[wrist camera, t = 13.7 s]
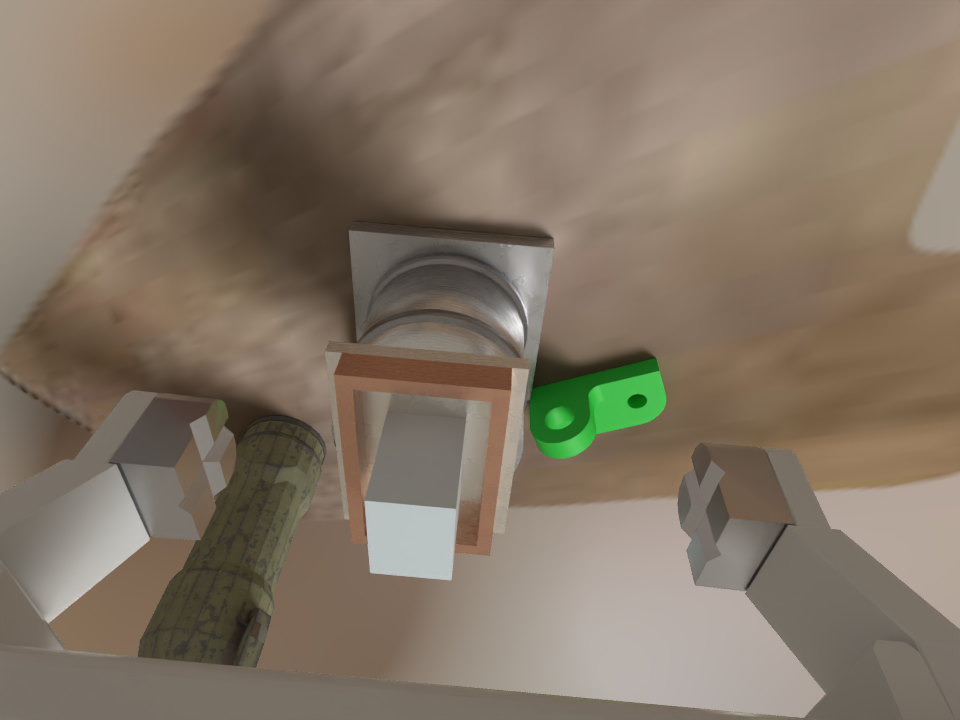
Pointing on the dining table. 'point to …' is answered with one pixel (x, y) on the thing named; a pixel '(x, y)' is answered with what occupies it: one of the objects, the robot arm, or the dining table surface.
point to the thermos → (240, 551)
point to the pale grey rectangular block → (415, 496)
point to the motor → (440, 357)
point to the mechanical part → (594, 406)
